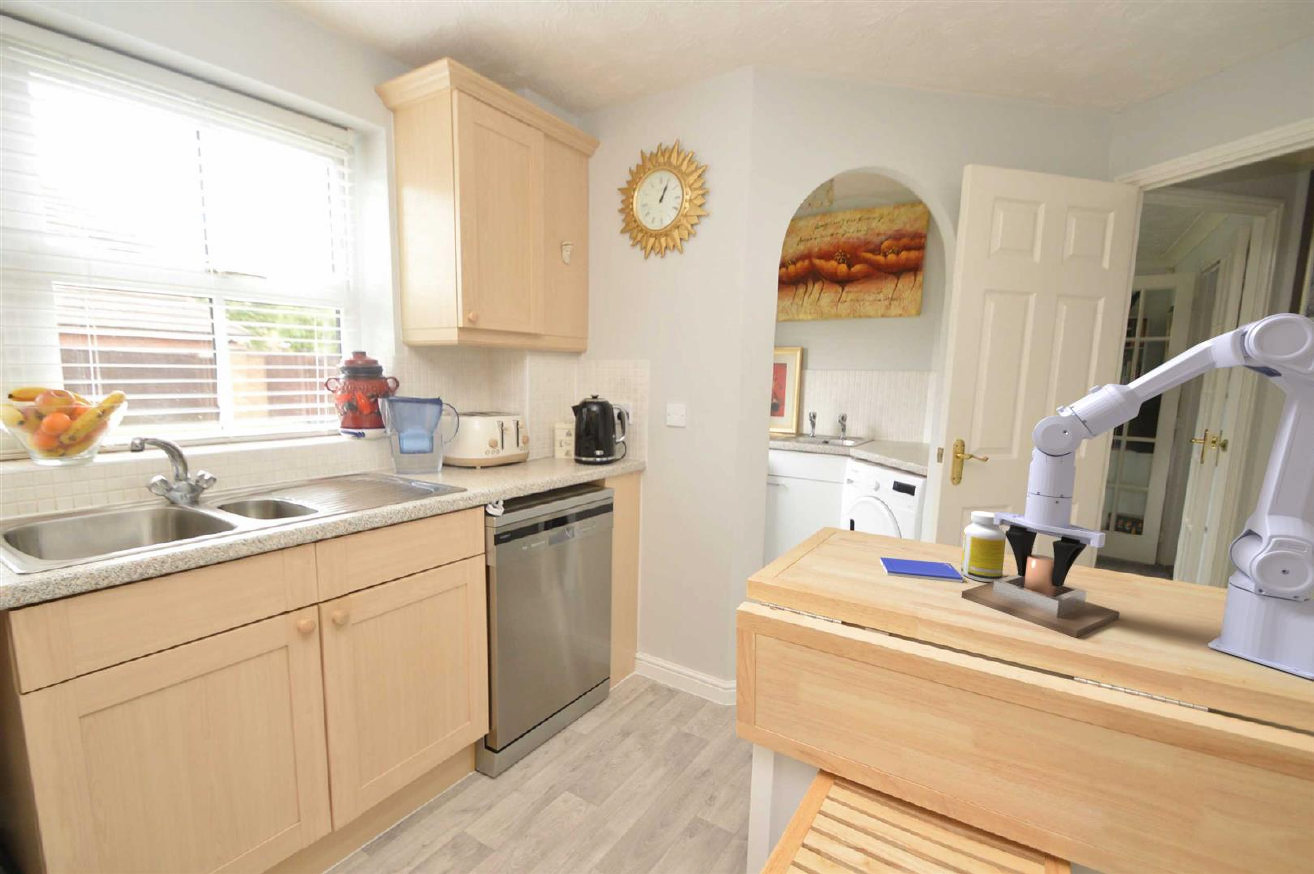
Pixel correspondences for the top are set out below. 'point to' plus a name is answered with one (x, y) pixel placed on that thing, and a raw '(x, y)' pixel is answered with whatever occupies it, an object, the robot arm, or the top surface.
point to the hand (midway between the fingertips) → (1040, 579)
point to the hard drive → (921, 569)
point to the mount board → (1067, 624)
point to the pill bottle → (983, 548)
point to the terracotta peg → (1040, 574)
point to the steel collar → (1039, 596)
